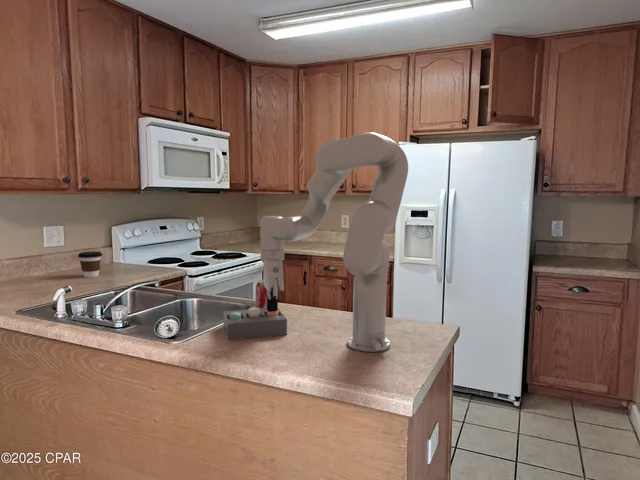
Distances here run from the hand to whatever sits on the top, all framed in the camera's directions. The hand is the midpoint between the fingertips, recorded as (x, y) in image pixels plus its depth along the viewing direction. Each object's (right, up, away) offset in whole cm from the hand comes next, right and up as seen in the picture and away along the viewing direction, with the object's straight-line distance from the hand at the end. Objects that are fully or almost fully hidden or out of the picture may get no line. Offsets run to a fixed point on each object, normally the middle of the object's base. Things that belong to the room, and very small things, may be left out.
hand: (272, 310), depth 141 cm
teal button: (-11, -3, -3) cm, 12 cm away
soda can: (-4, -4, +18) cm, 19 cm away
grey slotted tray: (-6, -6, -1) cm, 8 cm away
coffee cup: (-100, +4, +79) cm, 127 cm away
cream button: (-6, -2, -2) cm, 6 cm away
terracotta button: (0, -3, 0) cm, 3 cm away
